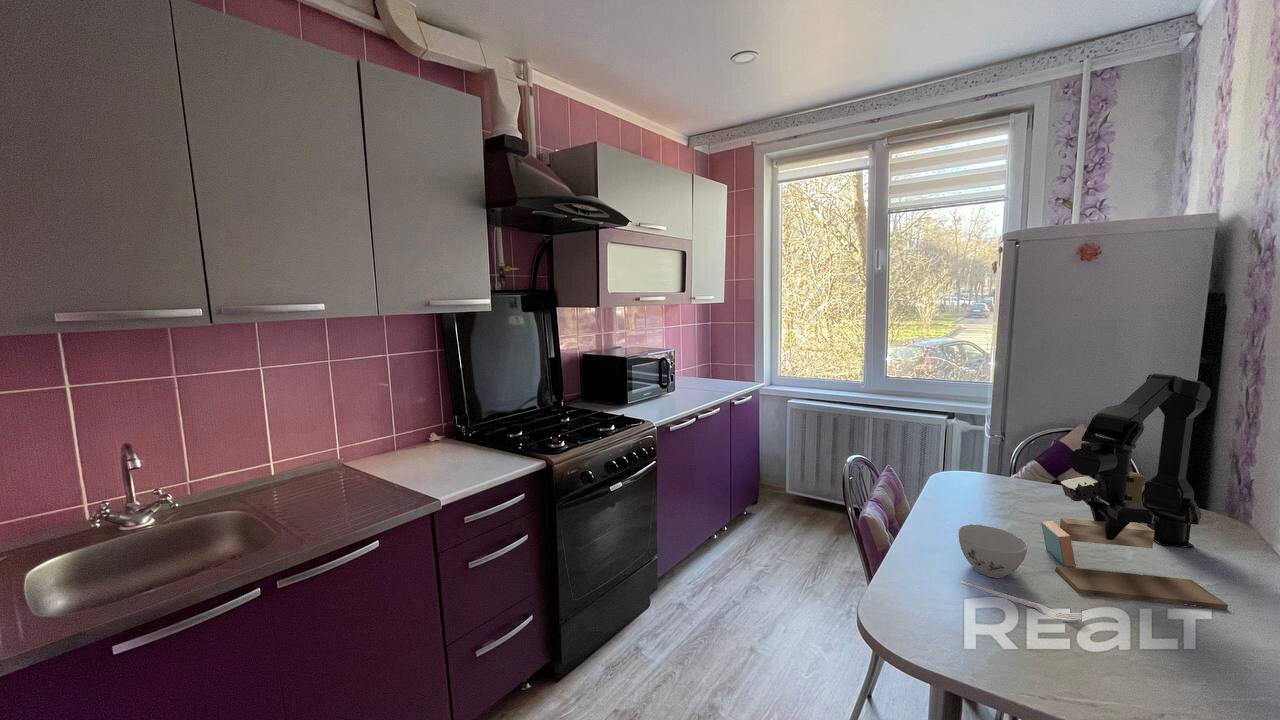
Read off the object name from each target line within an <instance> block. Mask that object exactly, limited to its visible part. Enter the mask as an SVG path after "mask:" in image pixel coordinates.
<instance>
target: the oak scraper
mask: <svg viewBox="0 0 1280 720" xmlns="http://www.w3.org/2000/svg"><path fill="white" fill-rule="evenodd" d="M1059 522H1060V523H1059V527H1060V528H1061V529H1063V530H1064V531H1065V532H1066V533H1067V534H1069V535H1070V537H1071V542H1079V543H1089V544H1090V543H1091V544H1101V545H1110V546H1111V545H1113V546H1123V547H1132V548H1133V547H1134V548H1142V549H1153V548H1154V541H1155V540H1154V532H1155V531H1154V530H1152V529H1151V528H1149V527H1147V524H1146V525H1145V524H1139V523H1129V524H1128V525H1127V526H1126V527H1125V528H1124V529H1123V530H1122V531H1121V532H1120V533H1119V534H1118V535H1117V536H1116V537H1115V538H1114V540H1108V539H1106V530H1105V522H1103V521H1094V520H1091V519H1090V520H1089V519H1078V518H1067V517H1060V521H1059Z"/></svg>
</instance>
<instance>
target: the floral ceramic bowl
mask: <svg viewBox="0 0 1280 720" xmlns="http://www.w3.org/2000/svg"><path fill="white" fill-rule="evenodd" d="M958 540H959V541H958V542H959V545H960V549H961V551H962V554H963V555H964V558H965V559H966V561H968V563H969V564H970V565H971V566H972V567H973V569H974V570H975V571H976V572H978V573H979V574H981V575H984V576H987V577H990V578H995V579H999V578H1004V577H1006V575H1009V574H1011V573H1013V572H1015V571H1016V570H1017V569H1018V568H1019V567H1020V566H1021V565H1022V563H1023V562H1024V561H1025V557H1026V555H1027V553H1028V544H1027V542H1026V541H1025V540H1024V539H1023V538H1021V537H1019V536H1017V535H1015V534H1014V533H1013V532H1010V531H1007V530H1005V529H1003V528H997V527H994V526H986V525H983V524H967V525H962V526H961V527H959V528H958Z"/></svg>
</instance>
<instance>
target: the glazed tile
mask: <svg viewBox="0 0 1280 720" xmlns="http://www.w3.org/2000/svg"><path fill="white" fill-rule="evenodd" d="M1040 524H1041V529H1042V534H1043V536H1042V537H1043V540H1044V546H1045V549H1046V551H1047V552H1048V553H1049V554H1050V555H1052V557H1054V558H1055V559H1056V560H1057V561H1058V562H1059V563H1060V564H1061V565H1062V567H1075V566H1077V565H1076V560H1075V559H1076V558H1075V554H1074V549H1073V544H1072V541H1071V537H1070V535H1069V534H1067V533H1066V532H1065V531H1064V530H1063V529H1061V528H1060V525H1058V524H1056V523H1055V522H1054V521H1053V520H1044V521H1041V522H1040Z"/></svg>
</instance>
